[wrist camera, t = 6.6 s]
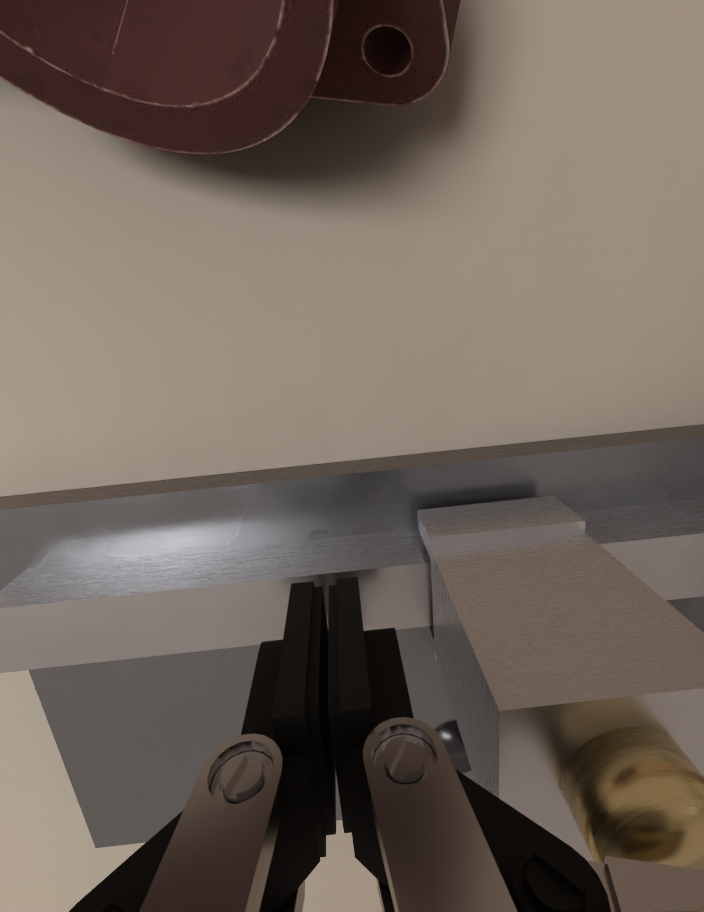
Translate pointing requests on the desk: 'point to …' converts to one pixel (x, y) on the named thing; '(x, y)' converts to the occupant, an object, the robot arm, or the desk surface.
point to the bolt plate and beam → (282, 590)
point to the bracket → (219, 62)
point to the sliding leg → (569, 680)
